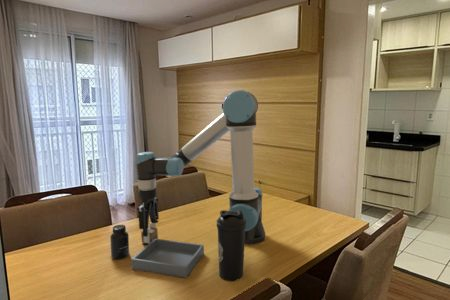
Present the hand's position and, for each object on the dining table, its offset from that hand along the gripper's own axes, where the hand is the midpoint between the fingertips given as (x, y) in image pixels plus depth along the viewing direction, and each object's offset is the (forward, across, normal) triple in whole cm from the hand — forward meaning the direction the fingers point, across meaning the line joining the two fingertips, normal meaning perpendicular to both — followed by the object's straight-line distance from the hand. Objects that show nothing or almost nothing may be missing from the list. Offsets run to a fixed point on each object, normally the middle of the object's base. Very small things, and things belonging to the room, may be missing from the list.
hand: (150, 239), depth 131 cm
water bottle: (+2, +15, +40) cm, 43 cm away
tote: (+1, +13, +16) cm, 20 cm away
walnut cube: (+1, 0, 0) cm, 1 cm away
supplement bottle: (+1, +14, -6) cm, 15 cm away
